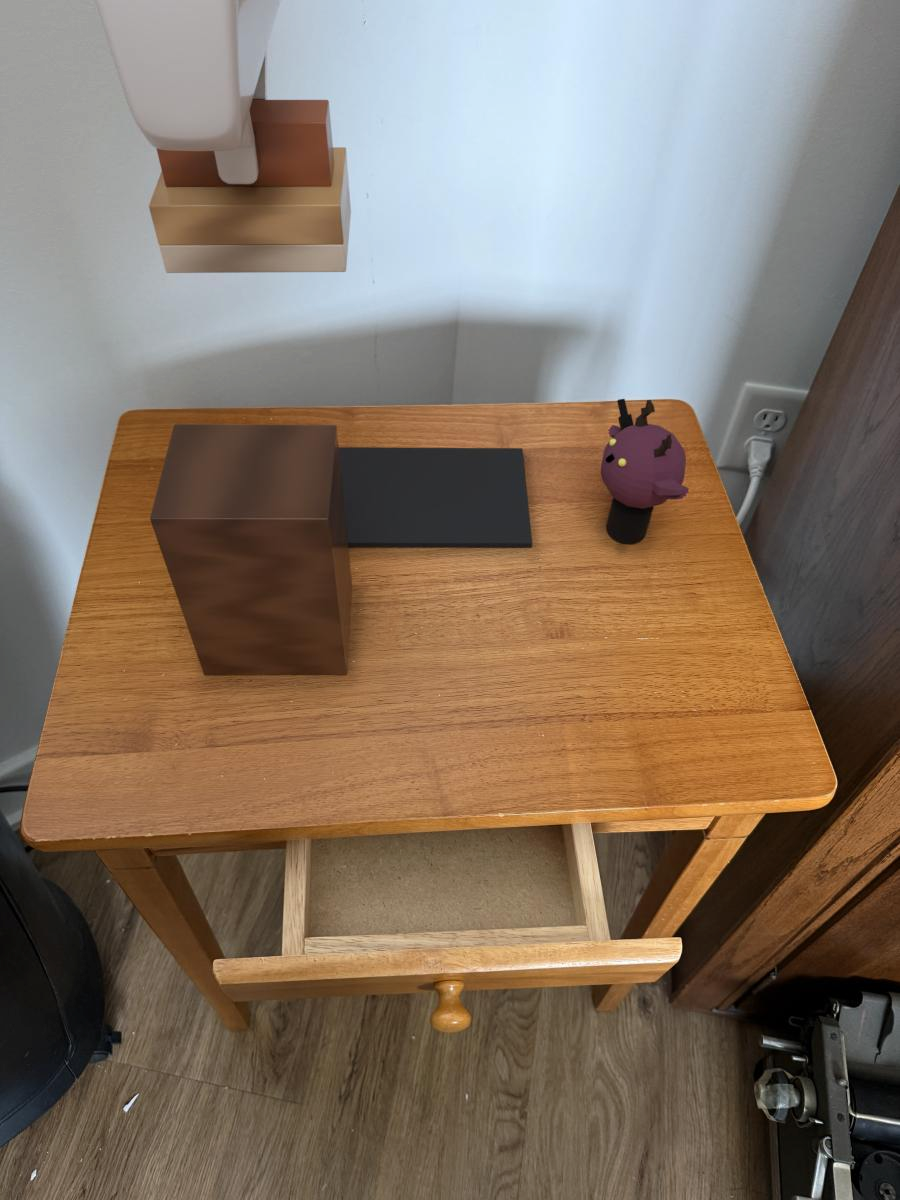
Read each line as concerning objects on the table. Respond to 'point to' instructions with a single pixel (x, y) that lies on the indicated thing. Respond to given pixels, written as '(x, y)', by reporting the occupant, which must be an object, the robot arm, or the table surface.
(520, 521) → the mat
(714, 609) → the table surface
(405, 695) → the table surface
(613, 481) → the figurine
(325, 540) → the riser
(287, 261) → the stepped wooden block
